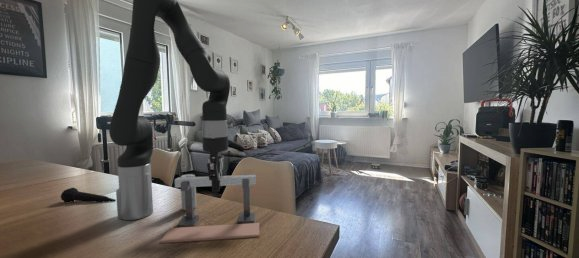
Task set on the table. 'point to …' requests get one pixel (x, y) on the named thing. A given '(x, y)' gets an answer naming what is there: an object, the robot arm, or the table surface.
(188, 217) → the hook standards
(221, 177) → the steel rail
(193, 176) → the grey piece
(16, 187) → the table surface
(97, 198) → the microphone
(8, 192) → the table surface
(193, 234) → the felt mat
